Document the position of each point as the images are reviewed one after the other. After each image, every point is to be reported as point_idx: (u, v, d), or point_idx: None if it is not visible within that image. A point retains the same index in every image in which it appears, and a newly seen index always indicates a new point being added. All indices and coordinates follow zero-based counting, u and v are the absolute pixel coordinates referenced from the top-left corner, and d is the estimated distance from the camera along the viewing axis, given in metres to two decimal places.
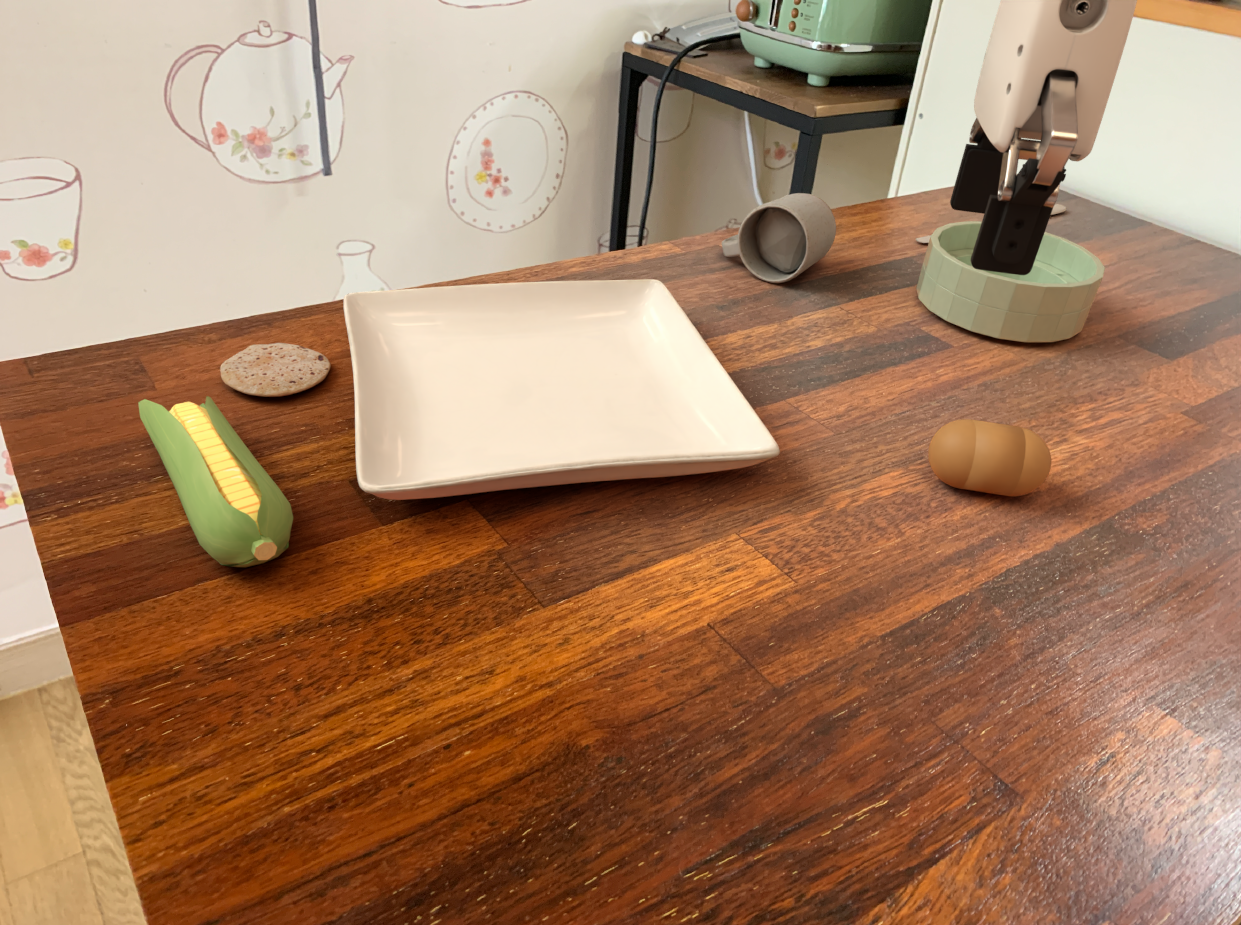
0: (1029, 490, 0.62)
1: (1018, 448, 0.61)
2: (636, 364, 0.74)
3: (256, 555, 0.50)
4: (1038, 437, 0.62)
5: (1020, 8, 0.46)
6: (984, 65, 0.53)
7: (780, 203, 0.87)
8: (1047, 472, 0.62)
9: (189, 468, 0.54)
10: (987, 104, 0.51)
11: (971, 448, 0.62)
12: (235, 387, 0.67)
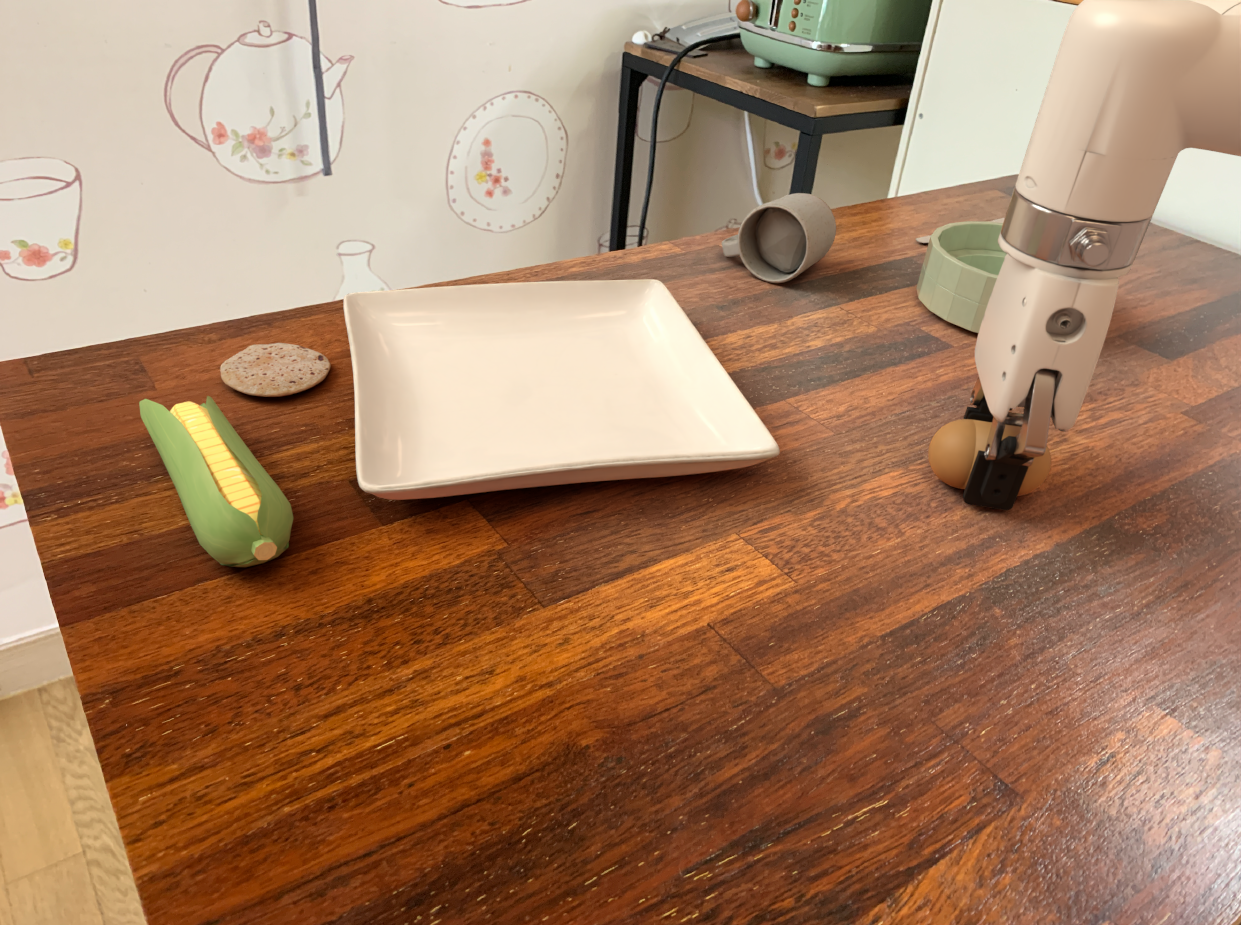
0: (1029, 490, 0.62)
1: None
2: (636, 364, 0.74)
3: (256, 555, 0.50)
4: None
5: (1013, 311, 0.55)
6: (983, 329, 0.62)
7: (780, 203, 0.87)
8: (1047, 472, 0.62)
9: (189, 467, 0.54)
10: (986, 371, 0.59)
11: (971, 448, 0.62)
12: (235, 387, 0.67)
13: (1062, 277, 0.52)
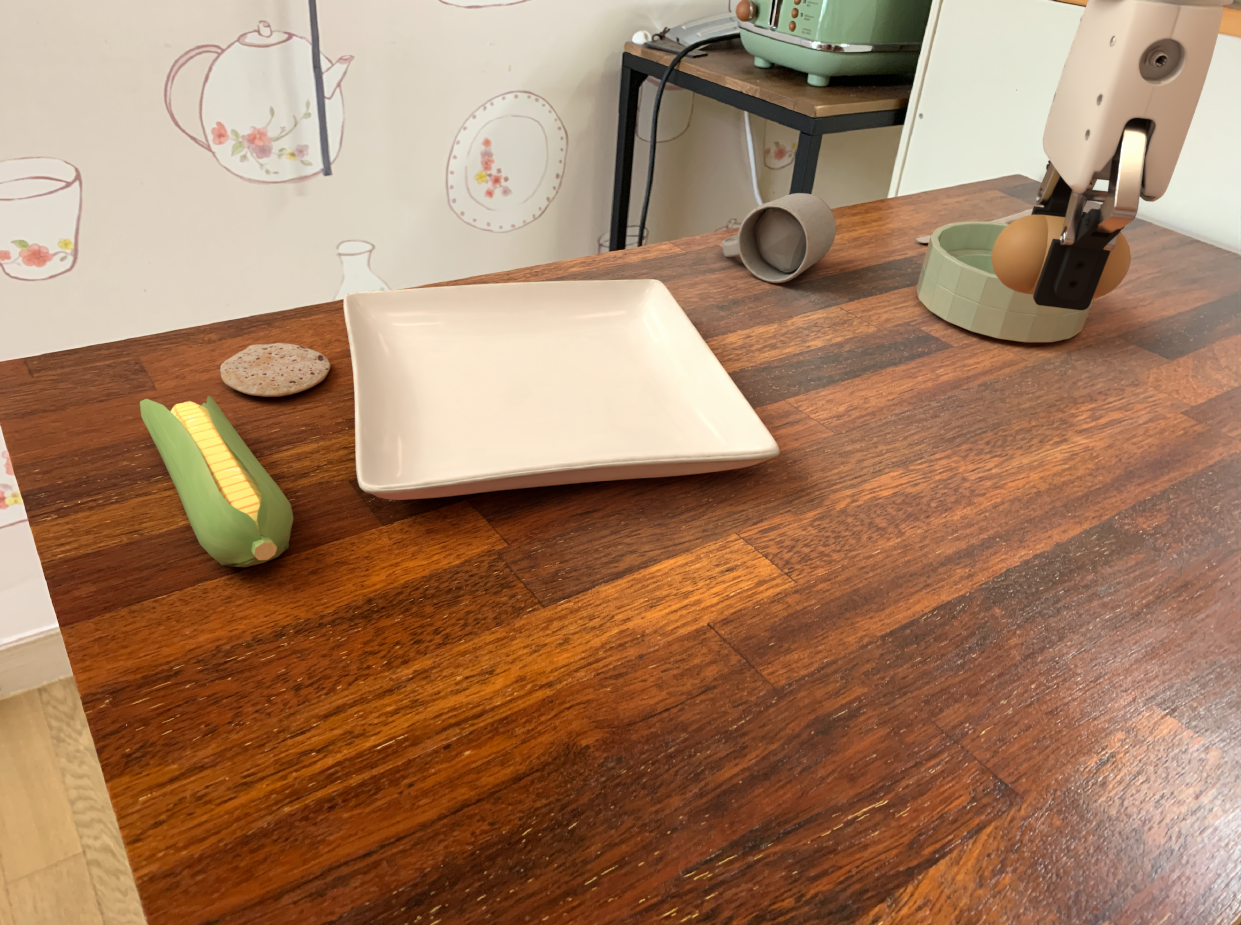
0: (1107, 289, 0.56)
1: None
2: (636, 364, 0.74)
3: (256, 555, 0.50)
4: None
5: (1098, 59, 0.49)
6: (1055, 107, 0.55)
7: (780, 203, 0.87)
8: (1127, 267, 0.56)
9: (190, 467, 0.54)
10: (1061, 146, 0.53)
11: (1043, 240, 0.55)
12: (235, 387, 0.67)
13: (1159, 3, 0.46)
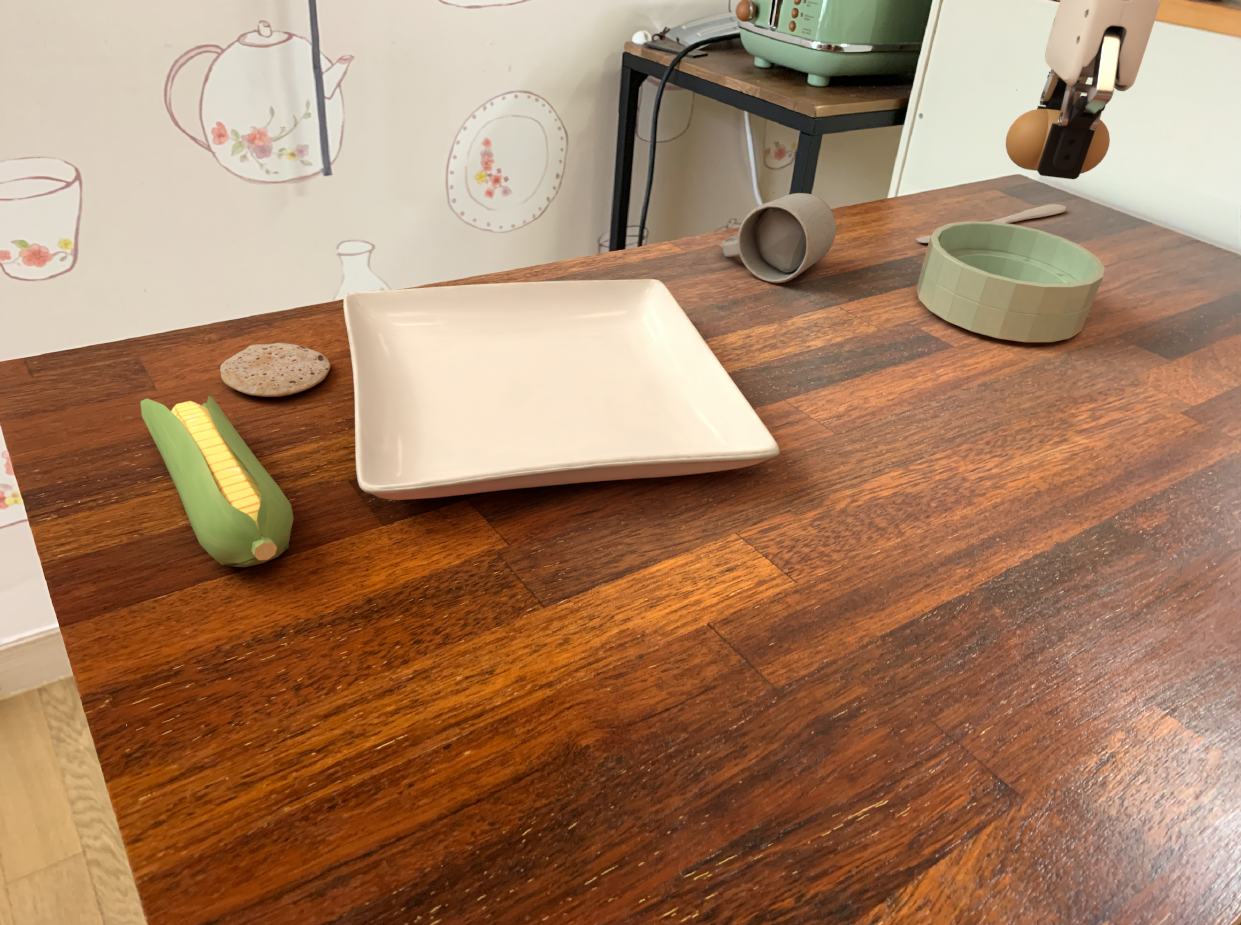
0: (1091, 163, 0.76)
1: None
2: (636, 364, 0.74)
3: (256, 555, 0.50)
4: None
5: None
6: (1054, 27, 0.75)
7: (780, 203, 0.87)
8: (1106, 147, 0.75)
9: (190, 467, 0.54)
10: (1059, 53, 0.73)
11: (1044, 125, 0.75)
12: (235, 387, 0.67)
13: None
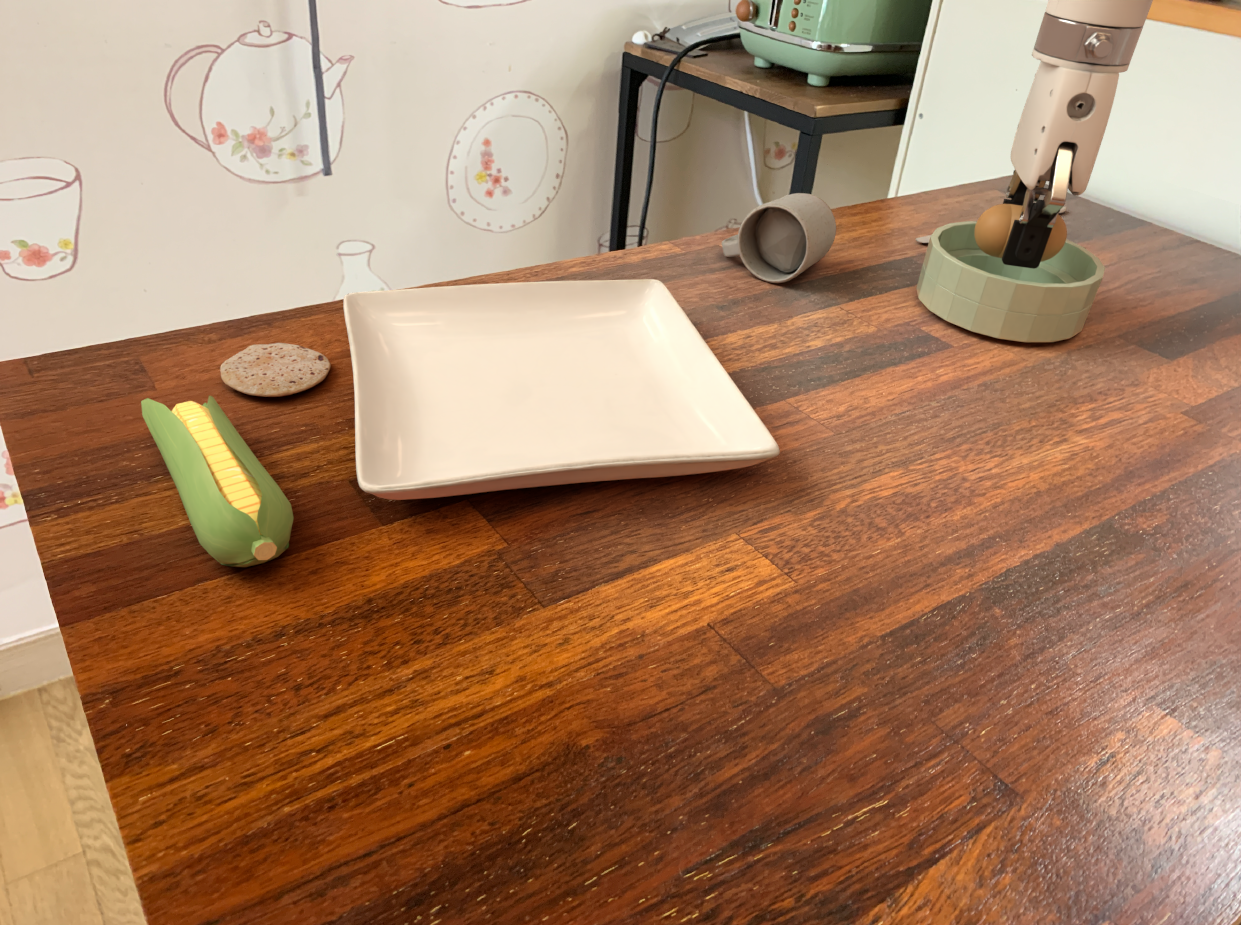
0: (1050, 254, 0.84)
1: None
2: (636, 364, 0.74)
3: (256, 555, 0.50)
4: (1057, 214, 0.84)
5: (1043, 103, 0.77)
6: (1018, 132, 0.83)
7: (780, 203, 0.87)
8: (1064, 240, 0.84)
9: (190, 467, 0.54)
10: (1021, 158, 0.81)
11: (1008, 220, 0.83)
12: (235, 387, 0.67)
13: (1079, 71, 0.74)
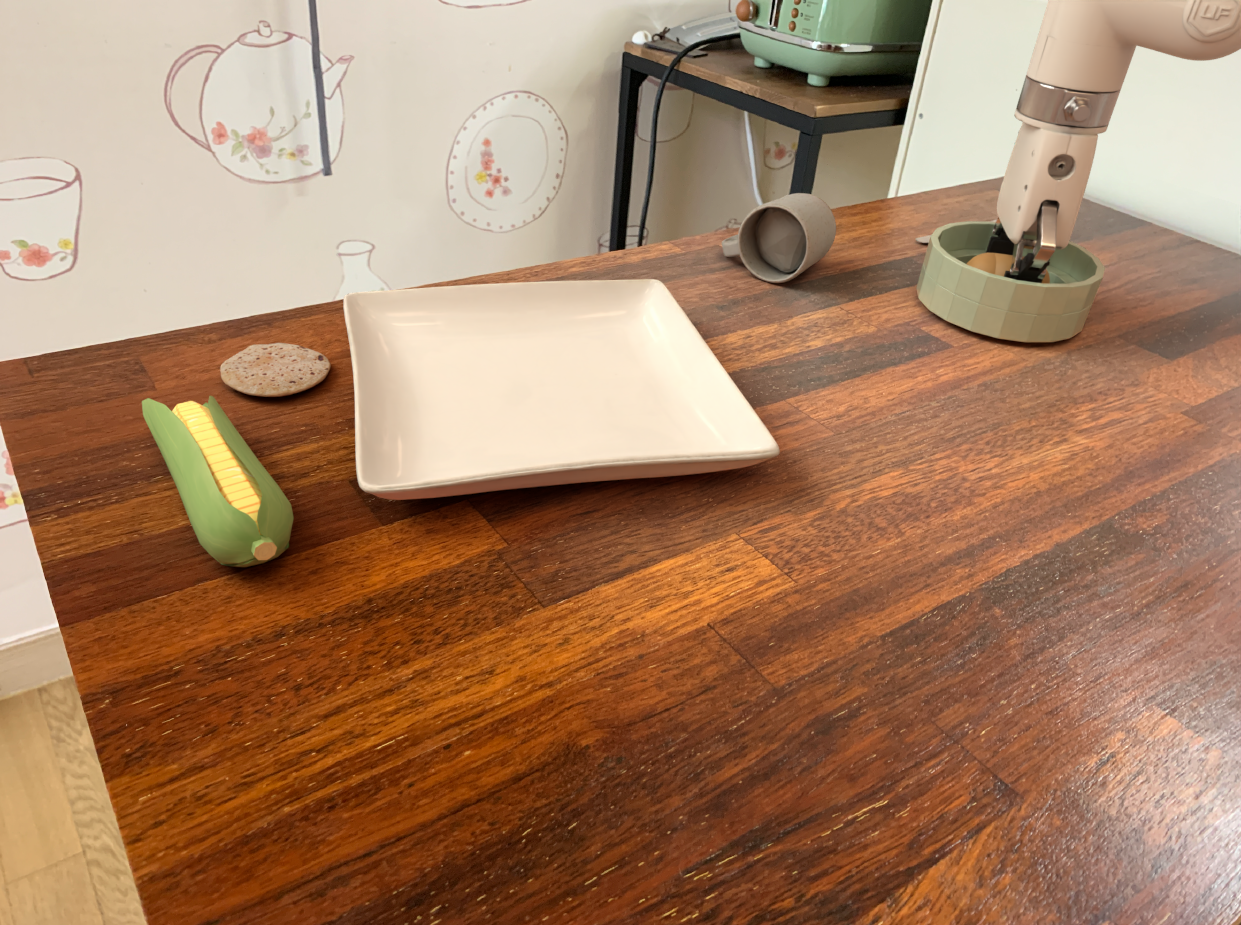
0: None
1: None
2: (636, 364, 0.74)
3: (256, 555, 0.50)
4: None
5: (1025, 162, 0.79)
6: (1003, 186, 0.86)
7: (780, 203, 0.87)
8: None
9: (190, 467, 0.54)
10: (1005, 213, 0.84)
11: (992, 268, 0.86)
12: (235, 387, 0.67)
13: (1059, 133, 0.76)
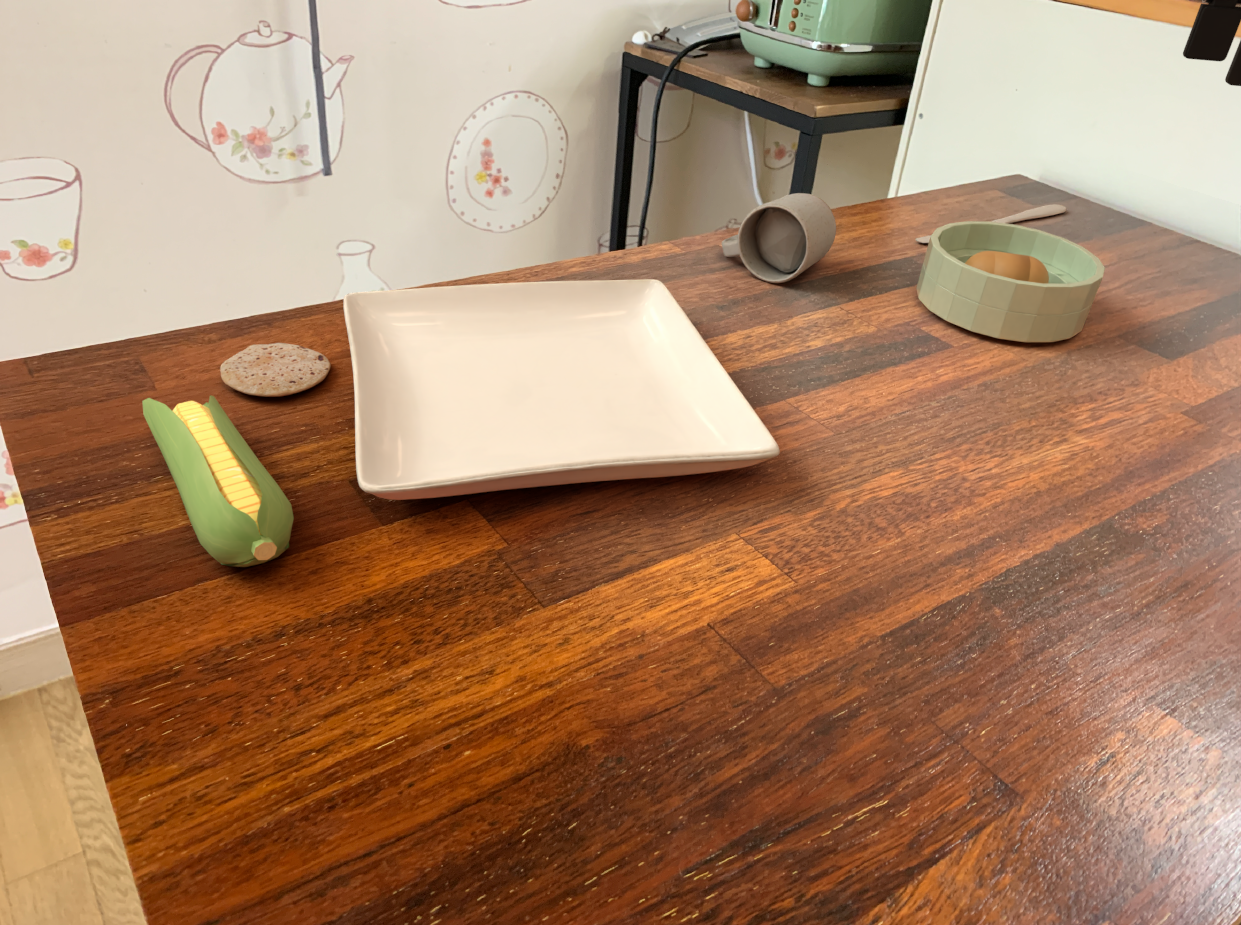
0: None
1: (1025, 262, 0.86)
2: (636, 364, 0.74)
3: (256, 555, 0.50)
4: None
5: None
6: None
7: (780, 203, 0.87)
8: (1047, 282, 0.87)
9: (191, 467, 0.54)
10: None
11: (992, 262, 0.86)
12: (235, 387, 0.67)
13: None
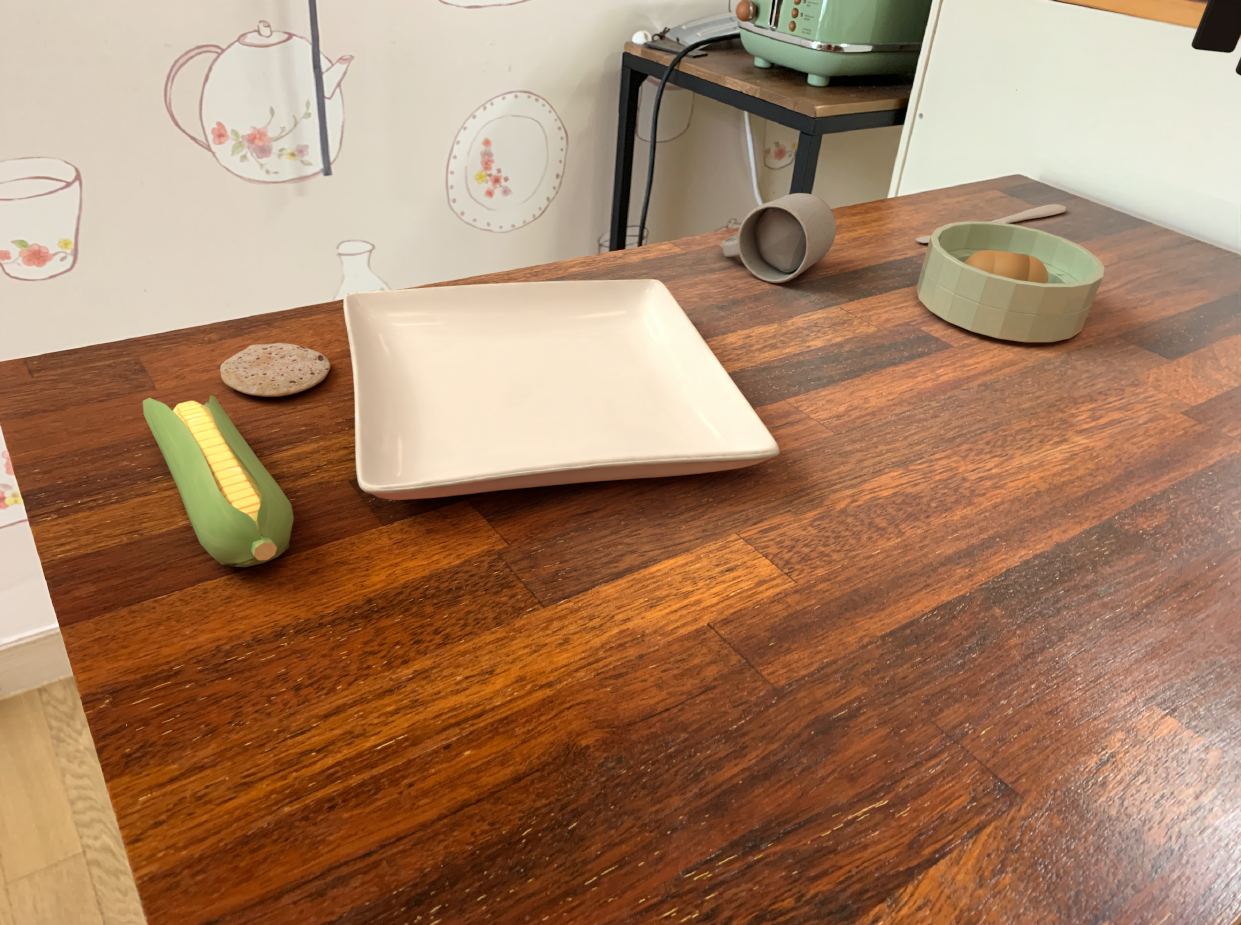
0: None
1: (1024, 259, 0.87)
2: (636, 364, 0.74)
3: (256, 555, 0.50)
4: None
5: None
6: None
7: (780, 203, 0.87)
8: (1046, 279, 0.87)
9: (191, 467, 0.54)
10: None
11: (992, 259, 0.87)
12: (235, 387, 0.67)
13: None
